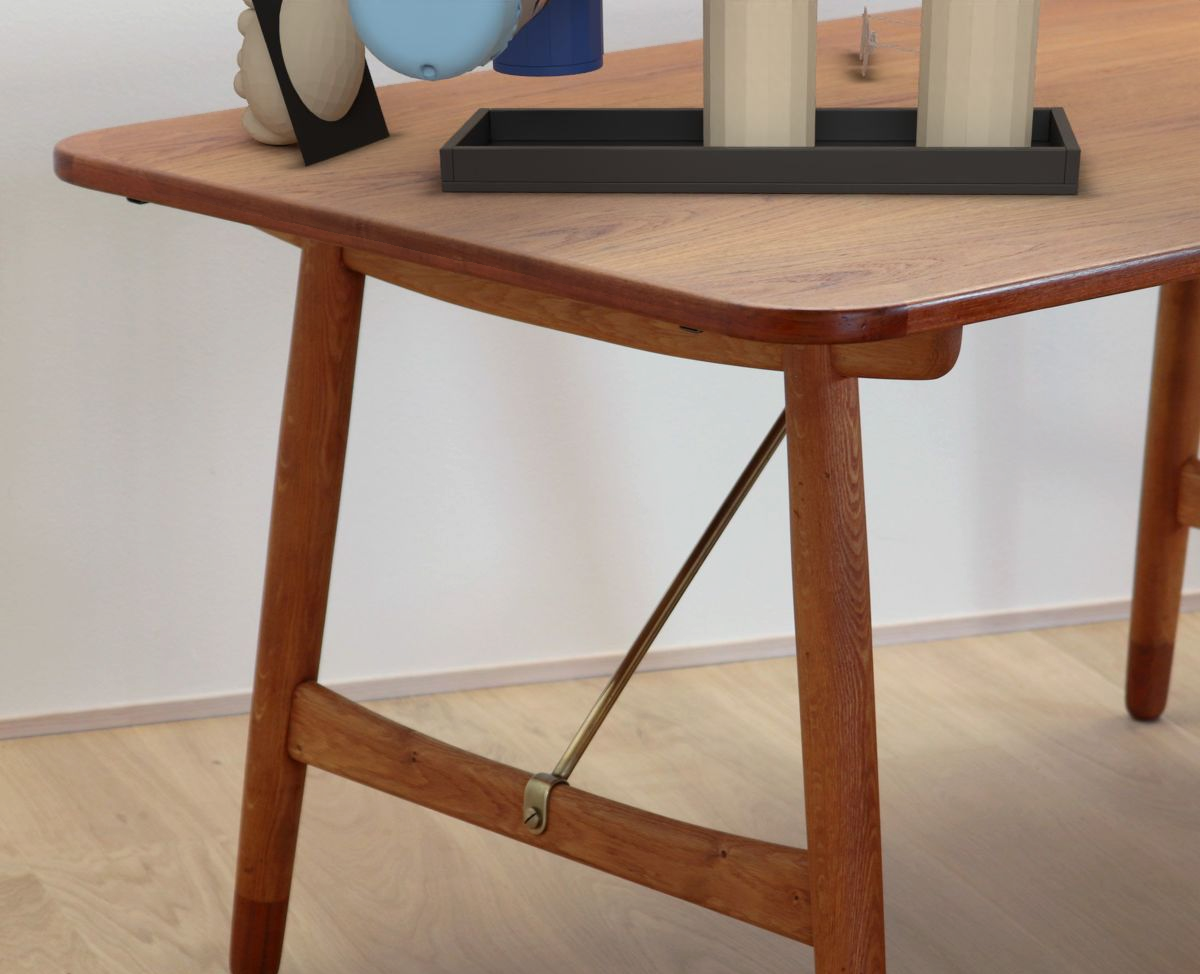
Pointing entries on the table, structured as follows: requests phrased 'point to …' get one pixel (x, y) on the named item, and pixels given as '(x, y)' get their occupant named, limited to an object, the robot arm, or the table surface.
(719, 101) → the cream bottle mid
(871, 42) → the eyeglasses
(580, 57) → the blue bottle
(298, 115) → the decorative object
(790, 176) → the tray
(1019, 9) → the cream bottle far
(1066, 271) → the table surface
